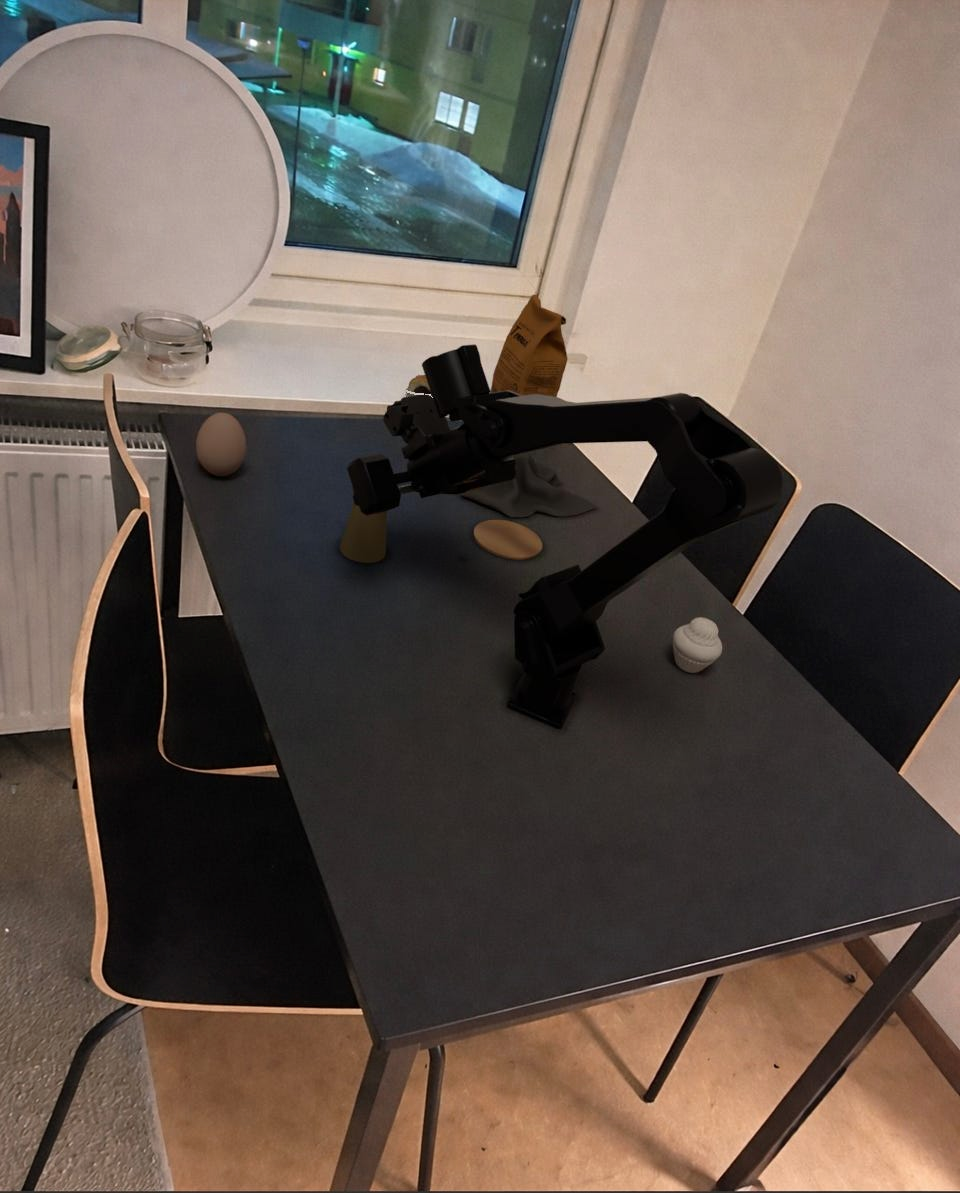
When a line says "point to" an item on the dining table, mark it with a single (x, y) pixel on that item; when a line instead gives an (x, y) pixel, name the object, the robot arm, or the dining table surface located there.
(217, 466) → the egg
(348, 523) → the pepper shaker
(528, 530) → the cork coaster
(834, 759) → the dining table surface
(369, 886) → the dining table surface
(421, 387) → the pastry
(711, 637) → the muffin
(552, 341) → the coffee package
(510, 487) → the cloth
